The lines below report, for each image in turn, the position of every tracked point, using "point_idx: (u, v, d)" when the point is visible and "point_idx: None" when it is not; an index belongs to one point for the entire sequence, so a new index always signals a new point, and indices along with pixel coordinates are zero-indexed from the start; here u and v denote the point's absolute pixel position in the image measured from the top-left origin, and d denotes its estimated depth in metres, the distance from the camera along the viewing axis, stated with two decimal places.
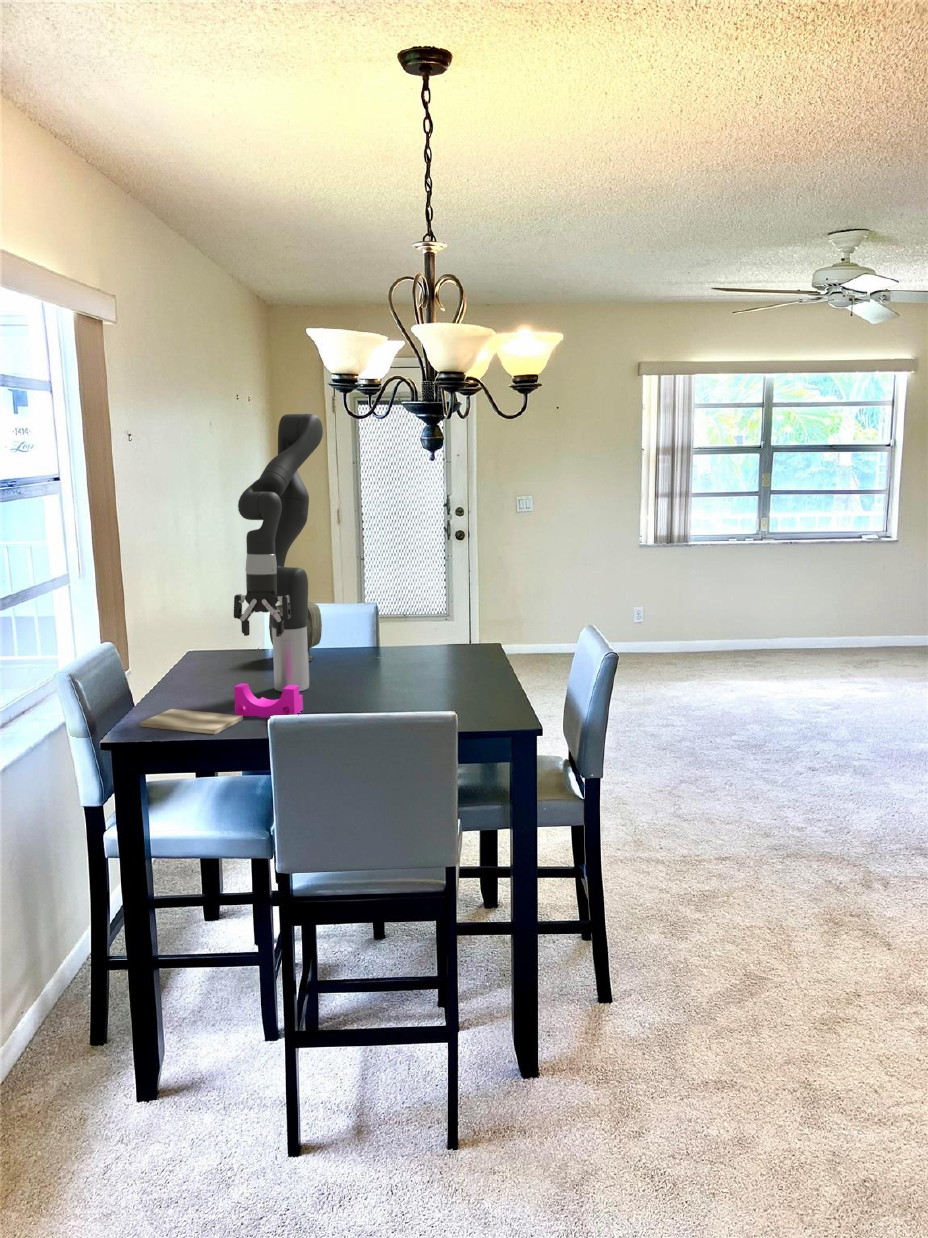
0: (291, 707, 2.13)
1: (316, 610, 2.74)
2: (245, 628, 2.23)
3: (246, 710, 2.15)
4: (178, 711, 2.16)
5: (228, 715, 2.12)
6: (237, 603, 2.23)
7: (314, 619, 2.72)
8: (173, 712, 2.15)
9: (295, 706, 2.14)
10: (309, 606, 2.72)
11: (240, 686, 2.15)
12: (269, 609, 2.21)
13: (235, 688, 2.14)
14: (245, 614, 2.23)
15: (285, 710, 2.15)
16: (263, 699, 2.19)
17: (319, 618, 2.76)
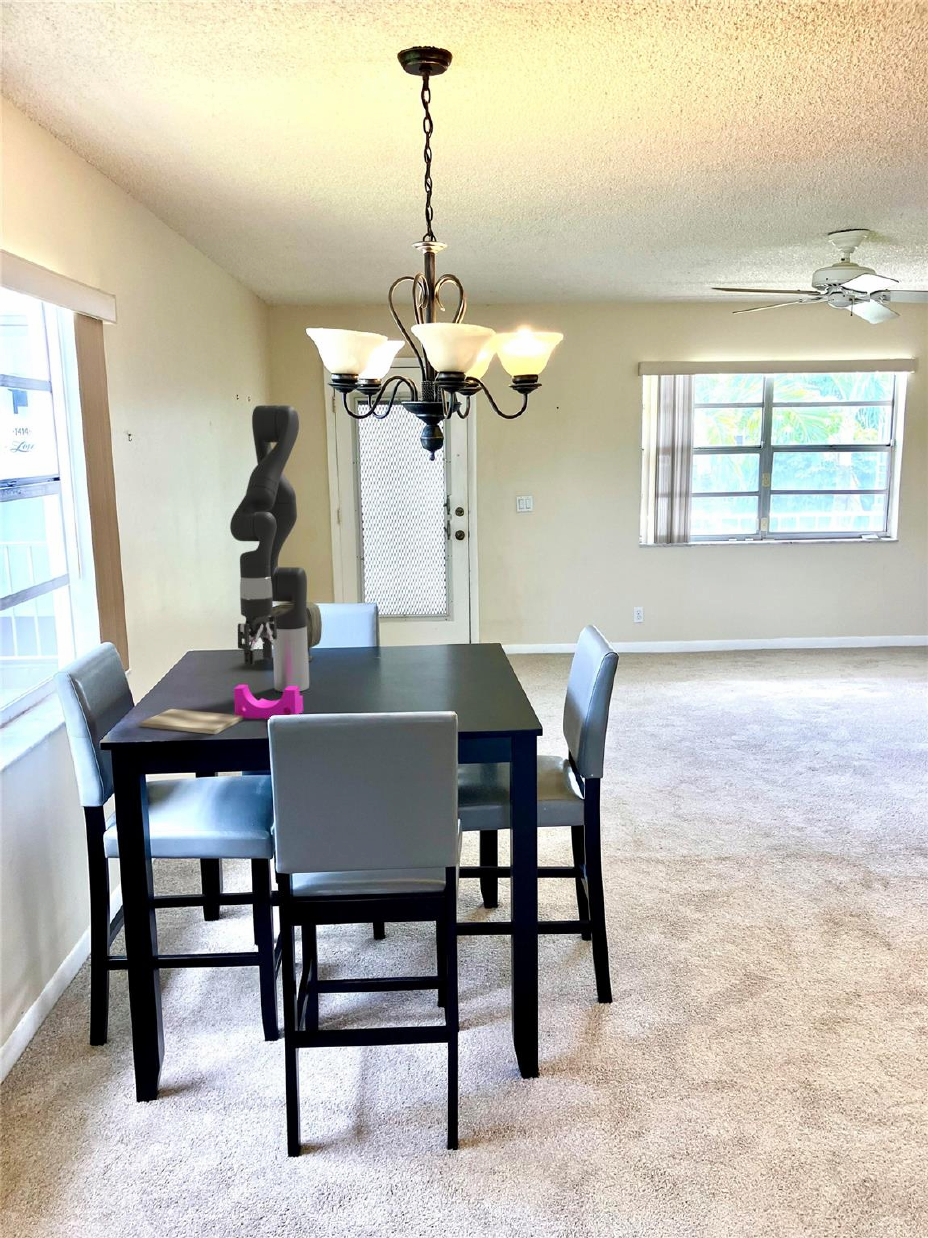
0: (292, 708, 2.12)
1: (316, 610, 2.74)
2: (253, 657, 2.10)
3: (246, 712, 2.14)
4: (178, 711, 2.16)
5: (228, 715, 2.12)
6: (248, 632, 2.07)
7: (314, 619, 2.72)
8: (173, 712, 2.15)
9: (296, 707, 2.13)
10: (309, 606, 2.72)
11: (240, 687, 2.14)
12: (269, 632, 2.15)
13: (235, 689, 2.13)
14: (253, 642, 2.09)
15: (286, 711, 2.14)
16: (263, 700, 2.18)
17: (319, 618, 2.76)
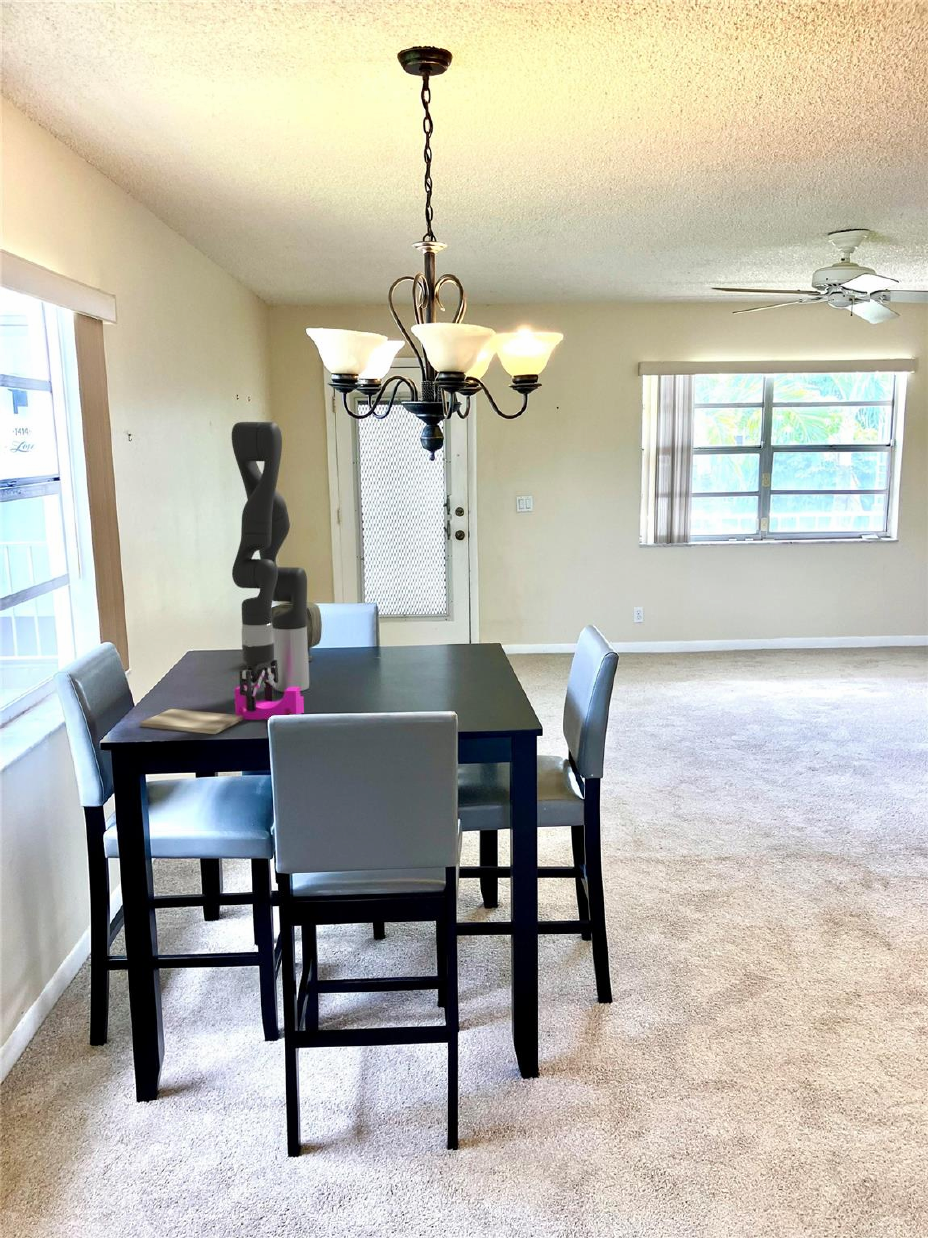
0: (293, 709, 2.12)
1: (316, 610, 2.74)
2: (255, 703, 2.12)
3: (247, 713, 2.13)
4: (178, 711, 2.16)
5: (228, 715, 2.12)
6: (250, 679, 2.09)
7: (314, 619, 2.72)
8: (173, 712, 2.15)
9: (297, 708, 2.12)
10: (309, 606, 2.72)
11: None
12: (270, 676, 2.17)
13: (236, 690, 2.12)
14: (255, 688, 2.11)
15: (286, 712, 2.13)
16: (263, 701, 2.17)
17: (319, 618, 2.76)
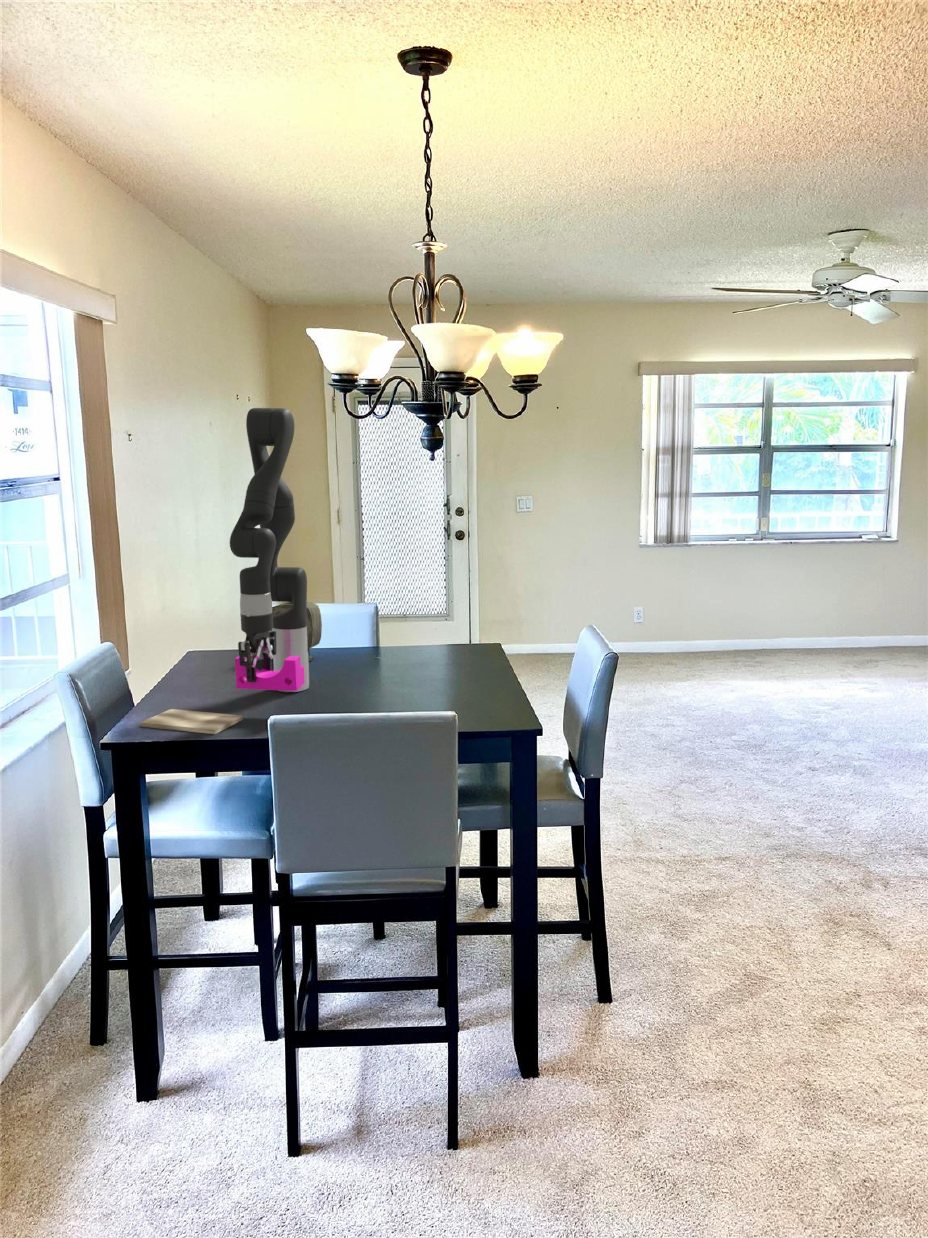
0: (293, 678, 2.11)
1: (316, 610, 2.74)
2: (255, 674, 2.12)
3: (247, 682, 2.13)
4: (178, 711, 2.16)
5: (228, 715, 2.12)
6: (249, 650, 2.08)
7: (314, 619, 2.72)
8: (173, 712, 2.15)
9: (297, 678, 2.12)
10: (309, 606, 2.72)
11: None
12: (269, 647, 2.16)
13: (236, 659, 2.12)
14: (255, 659, 2.11)
15: (287, 681, 2.13)
16: (264, 670, 2.17)
17: (319, 618, 2.76)
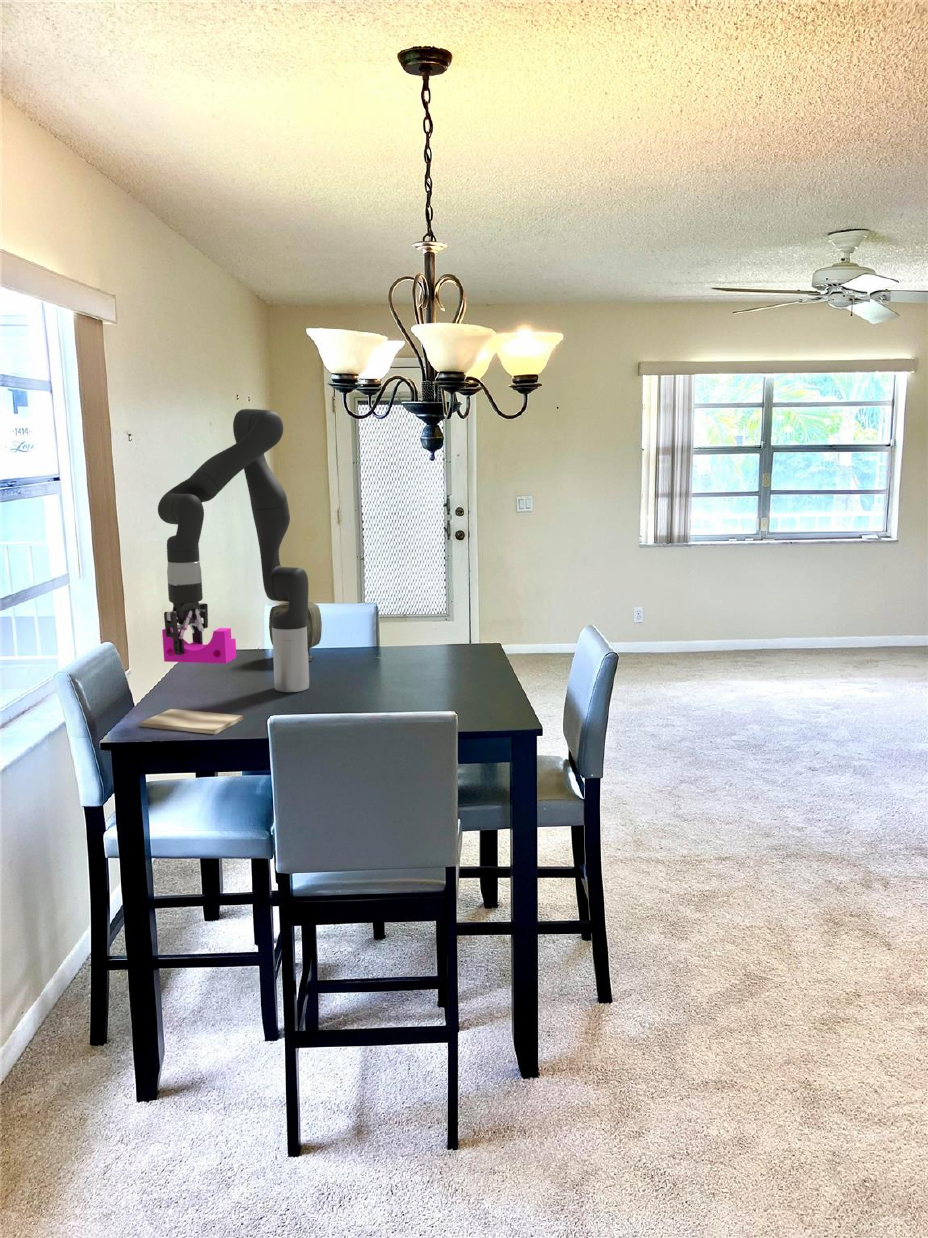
0: (222, 650, 2.02)
1: (316, 610, 2.74)
2: (183, 646, 2.03)
3: None
4: (178, 711, 2.16)
5: (228, 715, 2.12)
6: (176, 621, 2.00)
7: (314, 619, 2.72)
8: (173, 712, 2.15)
9: (227, 650, 2.03)
10: (309, 606, 2.72)
11: None
12: (198, 619, 2.07)
13: (163, 631, 2.03)
14: (182, 630, 2.02)
15: (216, 654, 2.04)
16: (194, 643, 2.08)
17: (319, 618, 2.76)
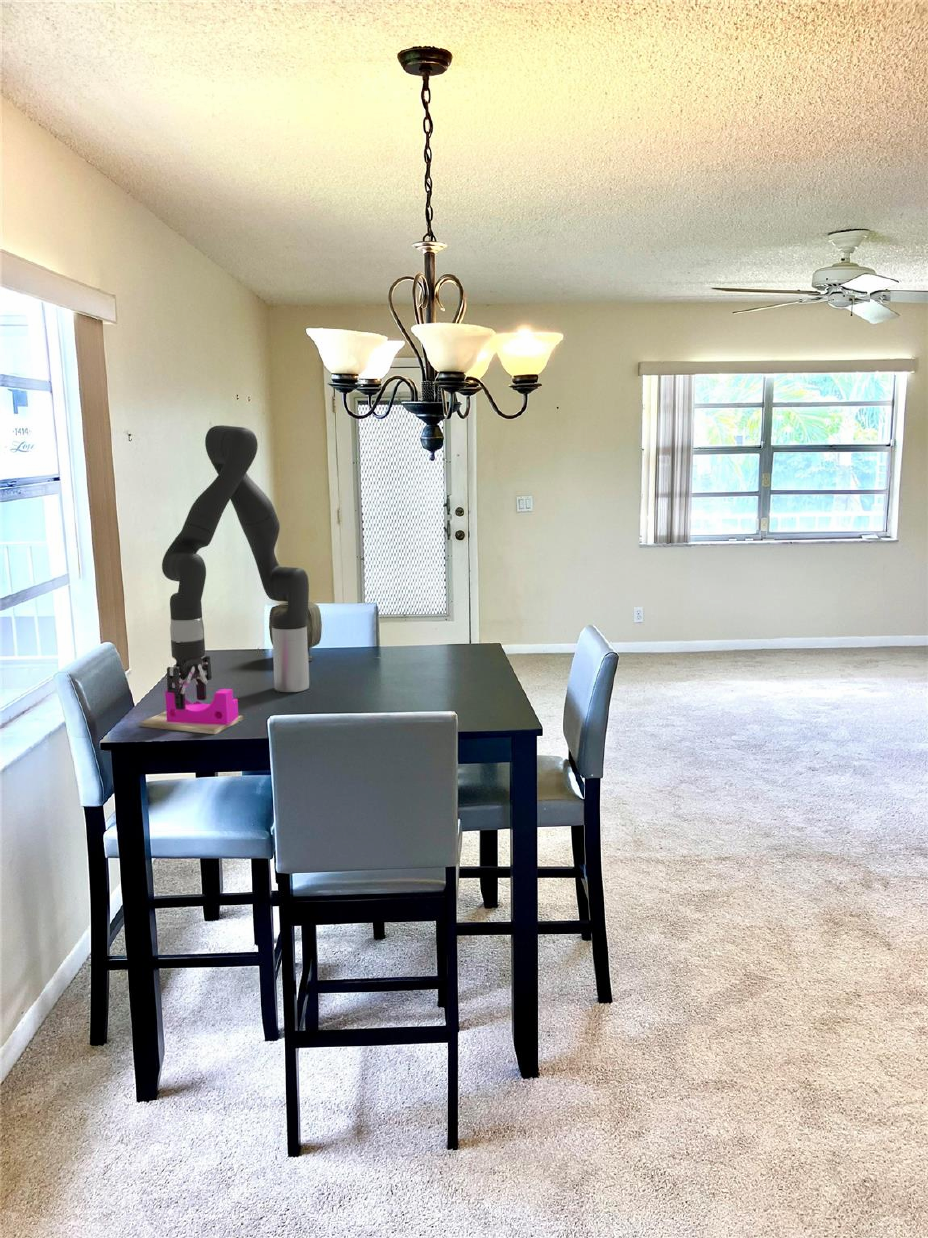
0: (223, 712, 2.05)
1: (316, 610, 2.74)
2: (184, 701, 2.05)
3: (178, 715, 2.07)
4: None
5: None
6: (178, 676, 2.02)
7: (314, 619, 2.72)
8: None
9: (228, 711, 2.05)
10: (309, 606, 2.72)
11: None
12: (202, 673, 2.10)
13: (166, 692, 2.06)
14: (184, 686, 2.04)
15: (218, 715, 2.07)
16: (197, 703, 2.11)
17: (319, 618, 2.76)
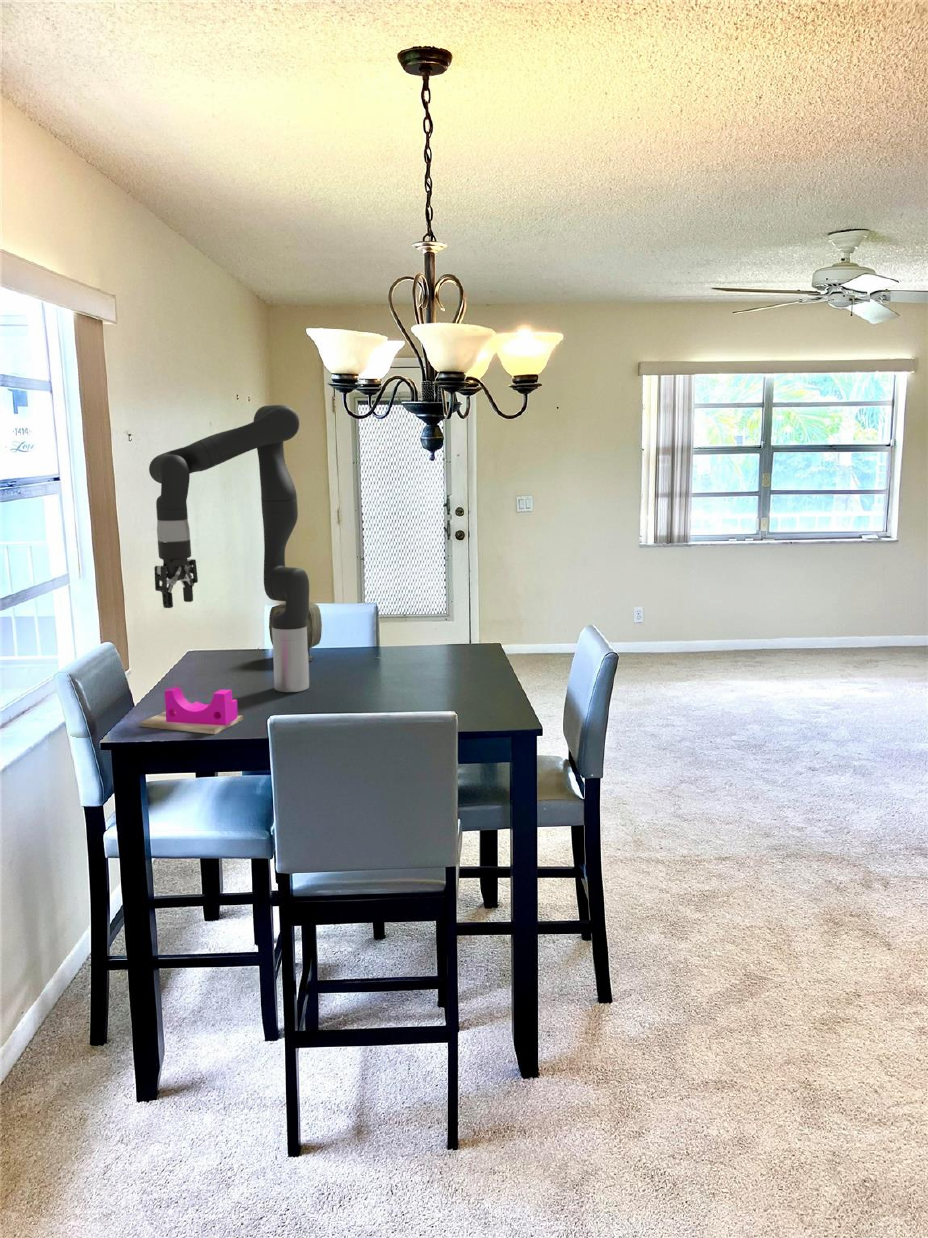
0: (222, 712, 2.04)
1: (316, 610, 2.74)
2: (171, 600, 2.12)
3: (177, 715, 2.07)
4: None
5: None
6: (165, 574, 2.09)
7: (314, 619, 2.72)
8: None
9: (227, 712, 2.05)
10: (309, 606, 2.72)
11: (171, 690, 2.07)
12: (188, 575, 2.17)
13: (165, 692, 2.06)
14: (171, 585, 2.11)
15: (217, 715, 2.06)
16: (197, 703, 2.11)
17: (319, 618, 2.76)
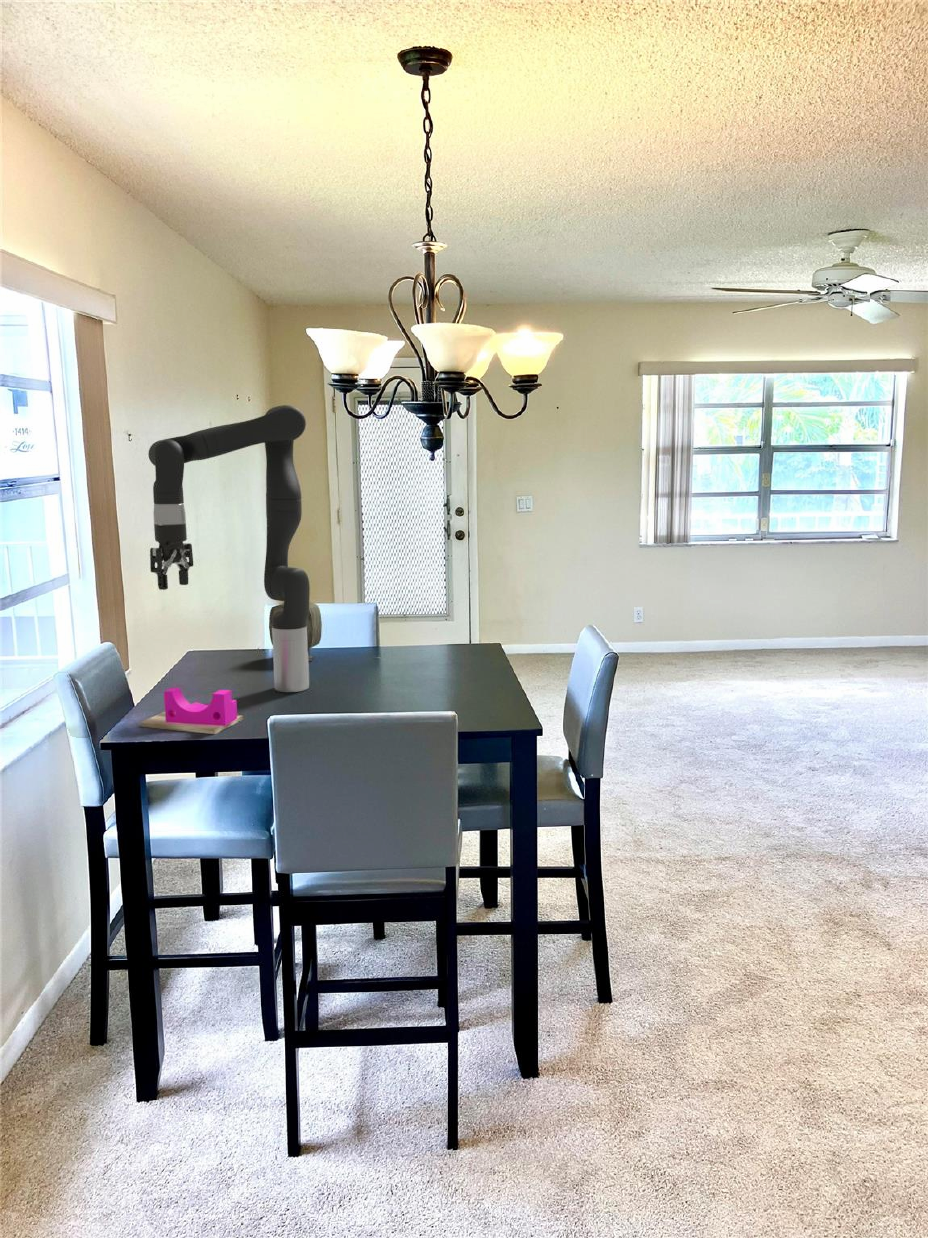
0: (221, 713, 2.04)
1: (316, 610, 2.74)
2: (166, 581, 2.17)
3: (176, 715, 2.06)
4: None
5: None
6: (161, 556, 2.14)
7: (314, 619, 2.72)
8: None
9: (226, 712, 2.05)
10: (309, 606, 2.72)
11: (170, 690, 2.06)
12: (184, 558, 2.22)
13: (165, 692, 2.06)
14: (166, 567, 2.16)
15: (216, 716, 2.06)
16: (196, 704, 2.10)
17: (319, 618, 2.76)
